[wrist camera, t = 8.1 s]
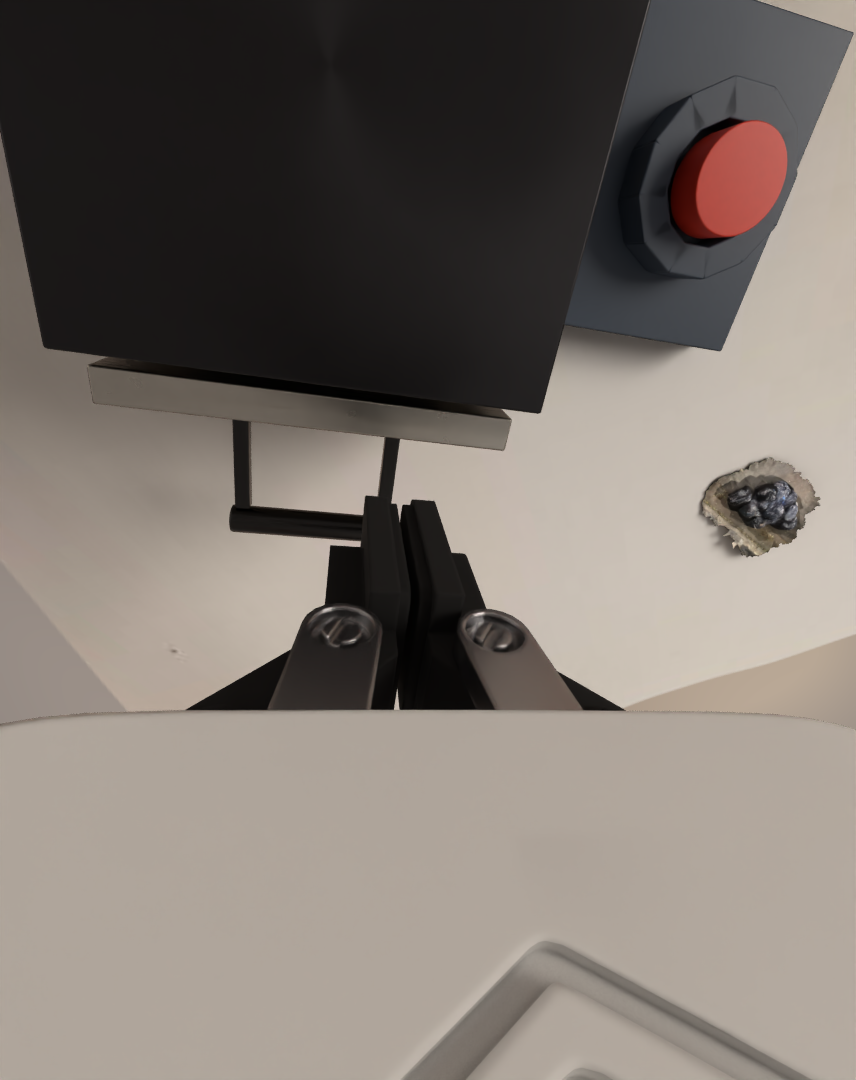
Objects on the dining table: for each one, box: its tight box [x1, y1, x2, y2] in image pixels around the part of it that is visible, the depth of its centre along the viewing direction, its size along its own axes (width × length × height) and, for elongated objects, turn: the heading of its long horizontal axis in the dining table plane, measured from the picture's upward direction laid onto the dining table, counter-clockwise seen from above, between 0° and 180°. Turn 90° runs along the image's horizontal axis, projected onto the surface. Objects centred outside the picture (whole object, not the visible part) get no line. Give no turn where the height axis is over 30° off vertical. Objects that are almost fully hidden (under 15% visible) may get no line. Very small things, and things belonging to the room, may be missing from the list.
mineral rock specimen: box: [702, 457, 820, 557], centre depth 32 cm, size 7×8×2 cm
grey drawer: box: [87, 357, 512, 541], centre depth 19 cm, size 20×14×9 cm
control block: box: [564, 0, 853, 351], centre depth 21 cm, size 12×9×4 cm
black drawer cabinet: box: [0, 0, 651, 414], centre depth 16 cm, size 15×15×11 cm
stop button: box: [671, 120, 787, 239], centre depth 19 cm, size 4×4×2 cm
